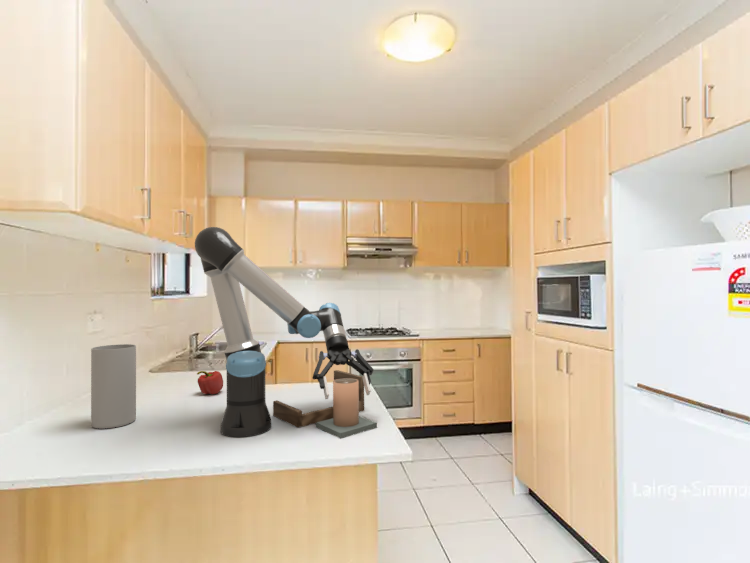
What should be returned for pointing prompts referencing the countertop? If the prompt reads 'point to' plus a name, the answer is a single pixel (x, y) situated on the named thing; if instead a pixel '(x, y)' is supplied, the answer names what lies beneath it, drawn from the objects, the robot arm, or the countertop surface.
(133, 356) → the cylinder vase
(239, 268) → the robot arm
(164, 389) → the countertop surface
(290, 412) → the brown wooden bracket
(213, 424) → the countertop surface
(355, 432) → the rubber mat
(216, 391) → the vegetable
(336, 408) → the tan upright cylinder
